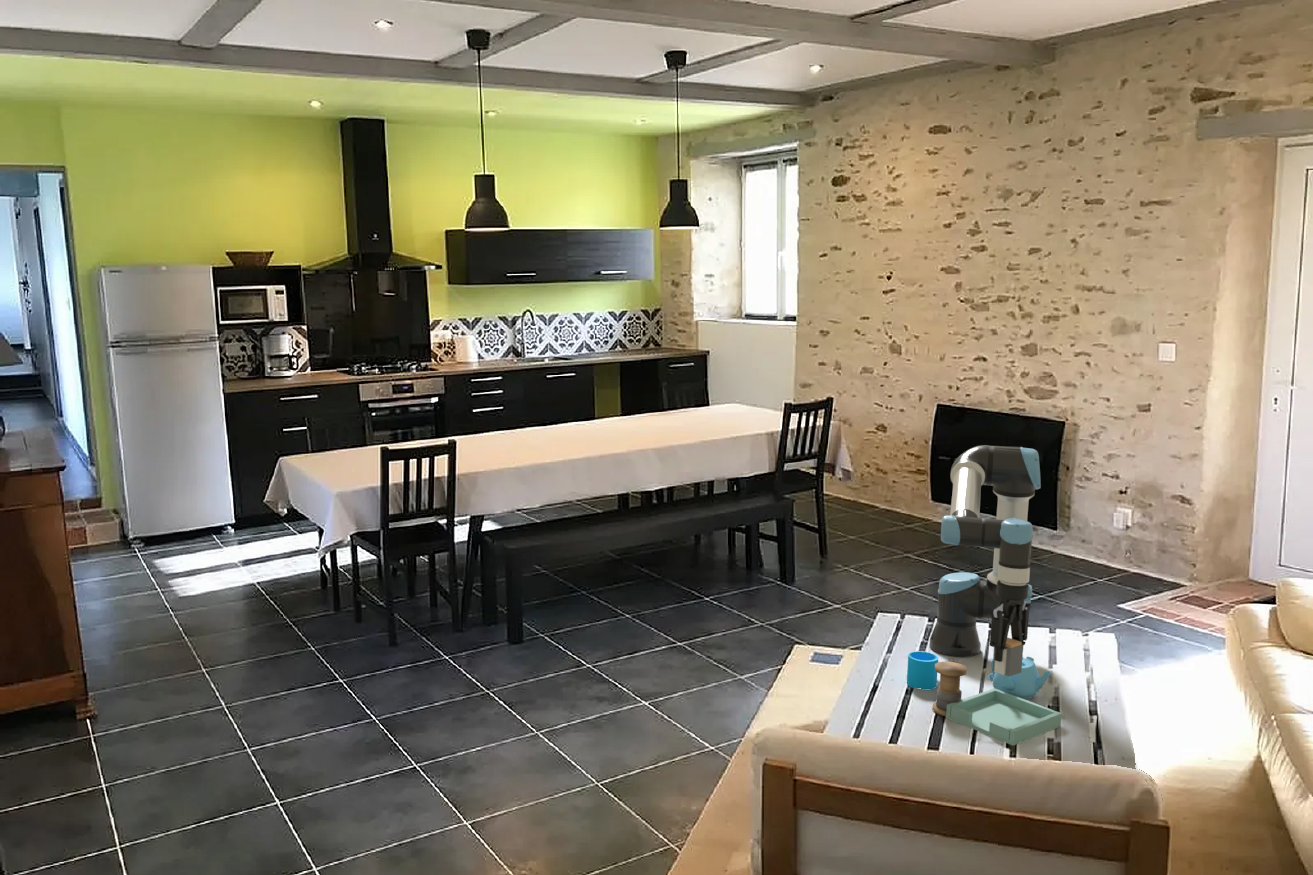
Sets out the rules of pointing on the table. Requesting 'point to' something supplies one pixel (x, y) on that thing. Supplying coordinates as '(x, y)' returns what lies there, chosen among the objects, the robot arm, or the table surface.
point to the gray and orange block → (1012, 657)
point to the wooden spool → (948, 685)
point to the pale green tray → (1004, 716)
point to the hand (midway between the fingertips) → (1006, 670)
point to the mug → (922, 670)
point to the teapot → (1020, 680)
